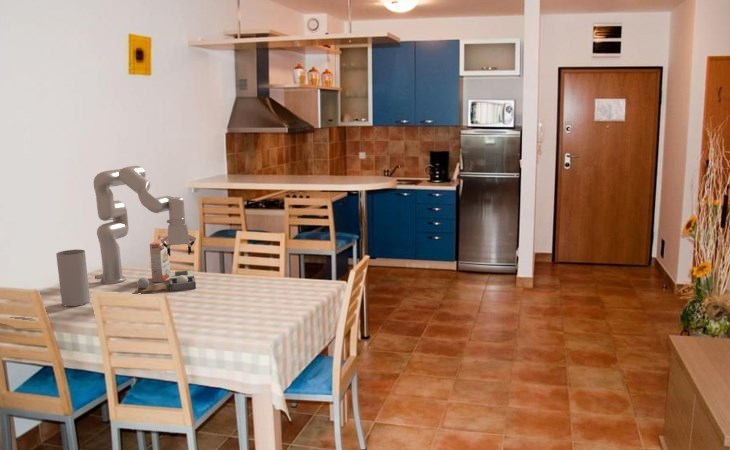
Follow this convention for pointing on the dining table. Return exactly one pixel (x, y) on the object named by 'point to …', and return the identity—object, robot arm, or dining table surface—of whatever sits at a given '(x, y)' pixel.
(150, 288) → the board
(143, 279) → the grey matte ball
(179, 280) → the cream matte ball
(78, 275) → the cylinder vase
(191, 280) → the bin
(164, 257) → the cracker box
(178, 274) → the lid
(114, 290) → the dining table surface
